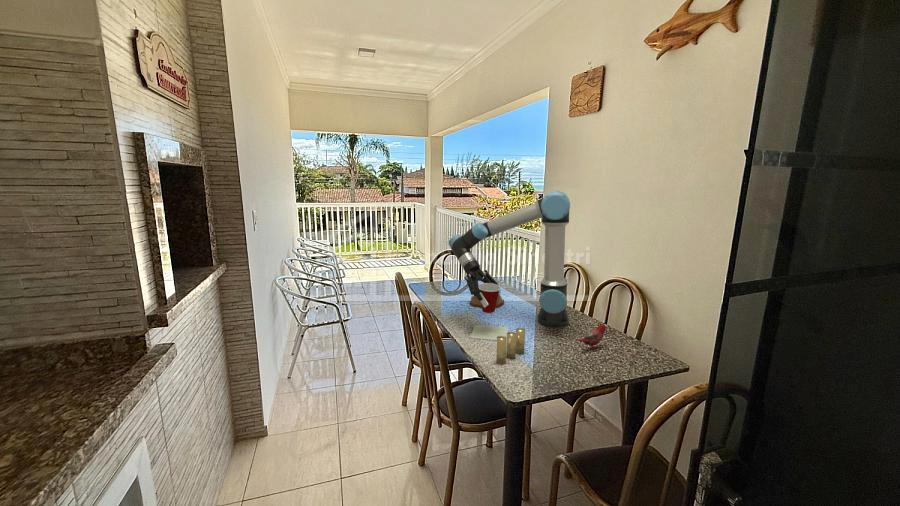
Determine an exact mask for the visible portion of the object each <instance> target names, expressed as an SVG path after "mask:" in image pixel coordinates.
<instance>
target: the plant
mask: <svg viewBox="0 0 900 506" xmlns="http://www.w3.org/2000/svg"><path fill="white" fill-rule="evenodd" d="M504 304H505V300H503V301H502V302H500V303H499V301H498V300H497V304H496V308H495V309H499V308H501V307H503V306H504ZM469 305H470V306H471V307H473V308H478V307H479V308H480V309H482V306H481V302H480V301H479V300H478V298H477V296H474V295H471V298H470V301H469Z"/></svg>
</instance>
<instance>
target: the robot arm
mask: <svg viewBox="0 0 900 506" xmlns="http://www.w3.org/2000/svg"><path fill="white" fill-rule="evenodd" d="M570 209H571V201H570V199H569V197H568V195H567V194H566V193H565V192H562V191H558V190H555V191H550V192H549V193H547V194H546V195H545V196H543V197H542V198H539V199H537V200H536V201H535V203H532V204H529V205H527V206H524V207H522V208H519V209H517V210H515V211H512V212H508V213H506V214H504V215H501V216H499V217H496V218H493V219H490V220H488V221H485V222H483V223H481V222H477V223H475V224H474V225H472V227H471V228H470V229H469V230H467V231H466V232H465V233H464V234H462V235H460V234H456V235H454V236H452V237H451V238H450V239H449V240H448V246H449V247H450V250H451V251H452V253H453V254H454V256H455V257H456V258H457V259H456V260H457V261H458V263H459V264H460V266H461V267H462V269H463V270H464V273H465V276H464V278H463V279H465V281H466V283H467V287H468V290H469V293H470V295H471V296H477V298H478V300H479V301H480V302H481V303H482V305H483V307H484V308H485V307H486V306H487V305H489V304H488V302H487V301H486V299H485V297H484V296H483V294H482V293H481V292H480V293H479V282H481V283H493V284H497V285H499V286H500V284H499V283H498V282H497V280H496V279H495V278H494V277H493V276H491V274H490V273H489V272H488V270H487V269H485V270H482V269H481V265H480V263H479V262H478V260H477V259H476V256H475V255H474V254H473V252H472V251H471V249H473V248H474V247H475V246H476V245H478V244H479V243H480V242H481V241H483V240H484V239H487V238H489V237H492V236H495V235H498V234H501V233H503V232H506V231H509V230H511V229H515V228H516V227H520V226H522V225H525V224H528V223H530V222H531V223H532V222H534V221H536V220H539V219H541V223H542V224H543V226H544V265H543V266H544V267H543V268H544V269H543V271H544V272H543V278H542V280H540V290H539V291H540V296H539V298H538V299H539V300H538V301H539V305H540V306H541V307H540V308H539V312H538V314H537V323H538V324H540V325H542V326H545V327H551V328H565V327H568V325H569V323H570V318H569V315H568V311H567V304H568V299H567V297H568V296H567V295H568V279H567V278H565V252H566V251H565V249H566V246H565V245H566V244H565V243H566V226H567V225H568V224H570ZM497 300H498V301H499V303H500V302H502V301H503V300H504V297H503V296H502V294H501V291H499V294H498V299H497ZM504 301H505V300H504Z"/></svg>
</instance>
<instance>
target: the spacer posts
mask: <svg viewBox="0 0 900 506" xmlns="http://www.w3.org/2000/svg"><path fill="white" fill-rule="evenodd" d="M525 340H526V329H525V328H523V327H518V328H517V327H516V329H515V332H514V331H508V333H507V338H506V337H504V336H498V337H497V341H496V364H498V365H505V364H506V363H507V359H508V360H515V359H516V355H519V356H521V355H525V347H526V346H525V345H526V344H525V343H526V341H525Z"/></svg>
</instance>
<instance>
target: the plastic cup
mask: <svg viewBox="0 0 900 506" xmlns="http://www.w3.org/2000/svg"><path fill="white" fill-rule="evenodd" d="M478 285H479V293H480V292H481V293H482V294H483V296H484V297H485V299H486V301H487V302H488V304H489V305H487V306H486V307H485V308H484V307H483V305H482V303H481V306H482V308H481V311H482V312H483V313H484V314H493V313H495V312H496V309H497V308H496V304H497V299H498V294H499V292H501V289H502V286H501V285H500V284H499V285H497V284H493V283H484V282H481V283H478Z"/></svg>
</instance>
